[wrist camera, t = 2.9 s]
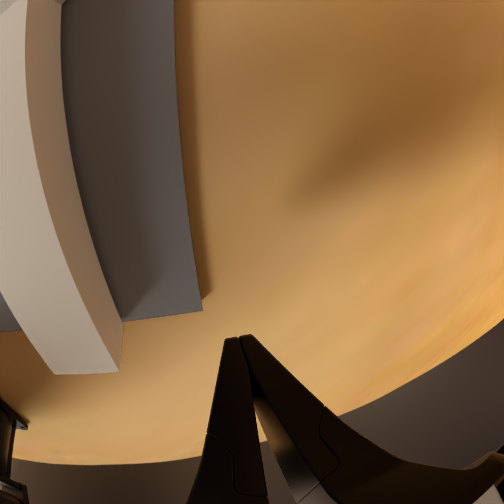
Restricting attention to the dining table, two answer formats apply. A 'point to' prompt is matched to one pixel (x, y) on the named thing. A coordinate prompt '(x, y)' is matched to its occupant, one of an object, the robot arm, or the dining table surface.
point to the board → (128, 153)
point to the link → (47, 205)
